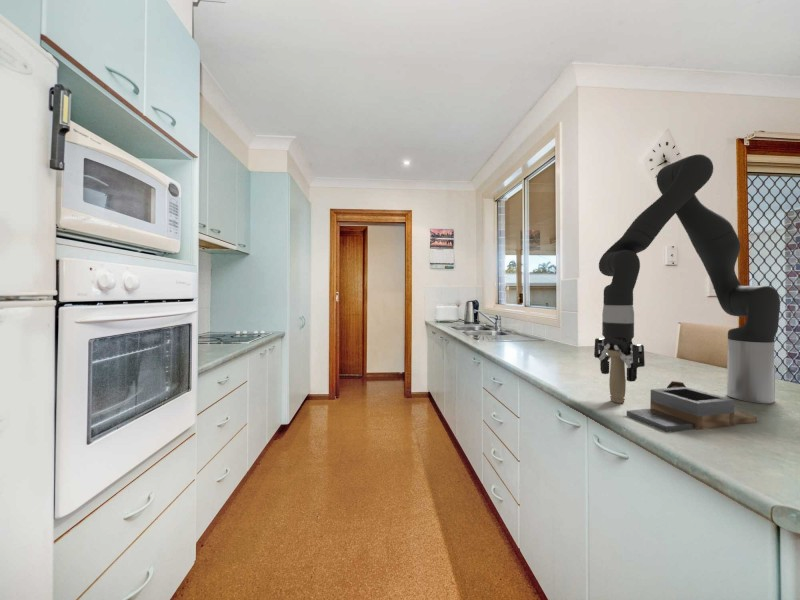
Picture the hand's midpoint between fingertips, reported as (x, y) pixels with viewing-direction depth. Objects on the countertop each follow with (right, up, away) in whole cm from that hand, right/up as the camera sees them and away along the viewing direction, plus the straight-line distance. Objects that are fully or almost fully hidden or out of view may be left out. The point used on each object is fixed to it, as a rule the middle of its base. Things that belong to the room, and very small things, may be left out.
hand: (617, 377), depth 91 cm
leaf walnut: (+14, -7, -11) cm, 19 cm away
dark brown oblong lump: (+20, -7, +3) cm, 22 cm away
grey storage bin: (+6, -7, -13) cm, 16 cm away
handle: (0, -7, 0) cm, 7 cm away
